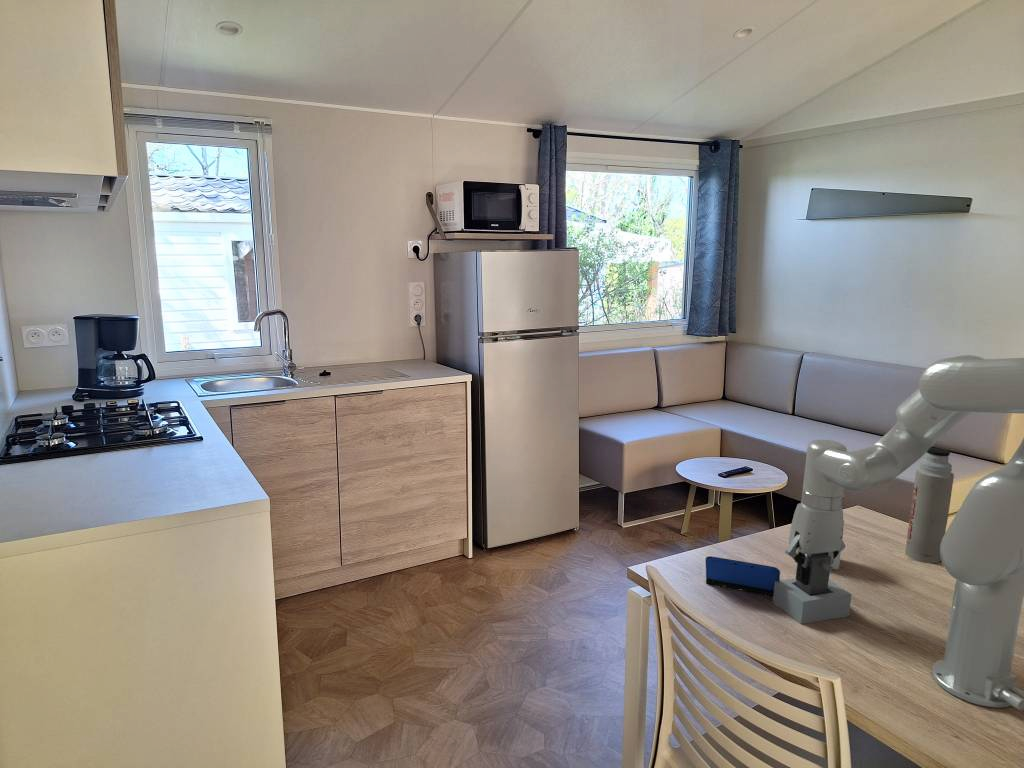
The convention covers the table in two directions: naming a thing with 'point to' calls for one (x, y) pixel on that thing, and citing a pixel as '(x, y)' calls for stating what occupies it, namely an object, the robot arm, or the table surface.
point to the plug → (817, 574)
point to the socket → (811, 602)
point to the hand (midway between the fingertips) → (812, 579)
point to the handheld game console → (741, 575)
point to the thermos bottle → (930, 506)
